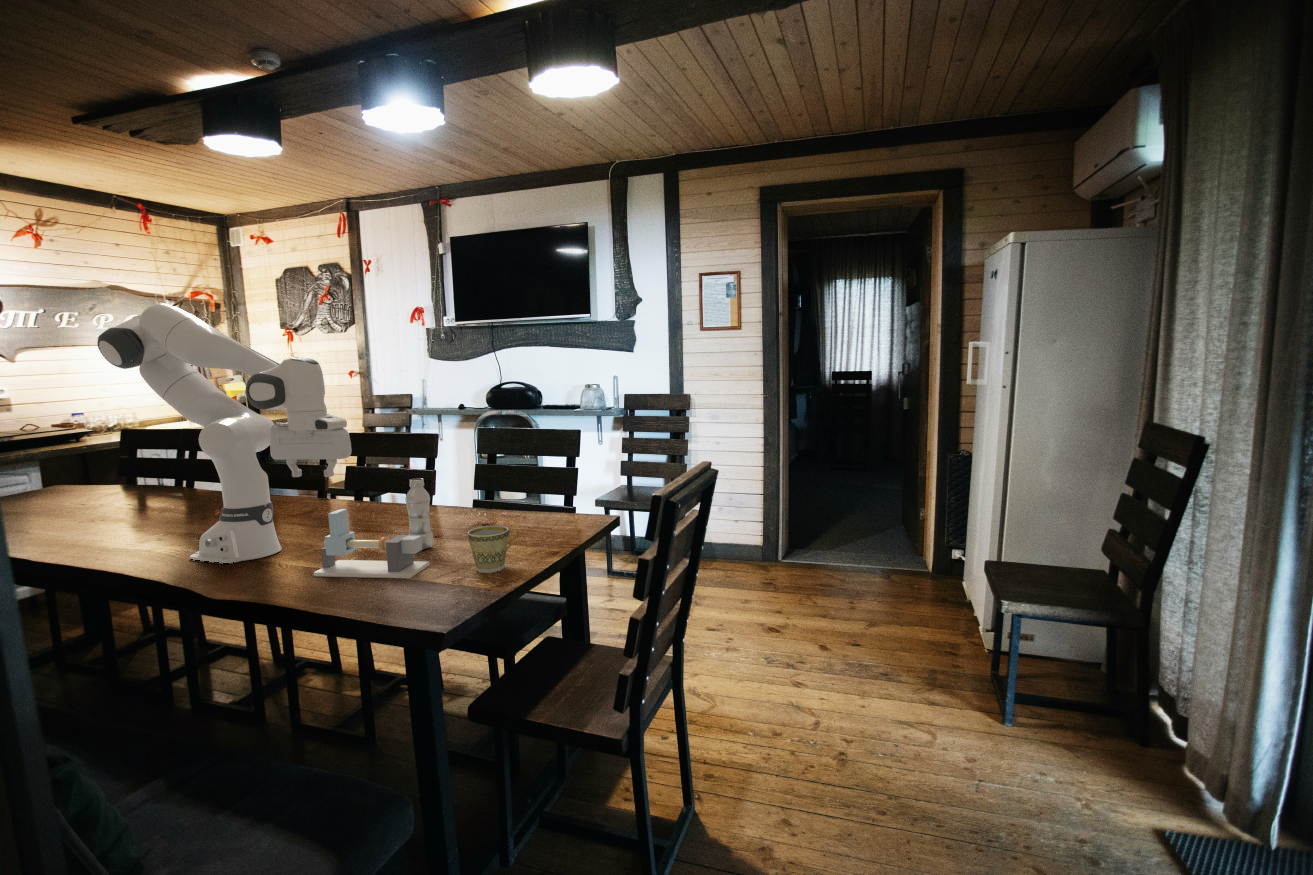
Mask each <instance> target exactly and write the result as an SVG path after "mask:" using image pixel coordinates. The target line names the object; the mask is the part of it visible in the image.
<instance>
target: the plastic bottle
mask: <svg viewBox="0 0 1313 875" xmlns="http://www.w3.org/2000/svg"><path fill="white" fill-rule="evenodd" d="M424 486H425V482H424V478H420V477H419V478H411V479H409V487H410V489H409V490H408V491H407V494H406V495H405V506H406V508H407V514H408V523H409V525H408V526H409V533H408V535H412V536H422V550H423V551H424V550H426V549H430V548H431V547H432V546H433V544H434V535H433V532H432V527H431V521H430V520H431V519H430V505H431V504H430V503H431V496H430V493H429V492H428V491H427V490H426V489H425V487H424ZM422 550H421V551H422Z"/></svg>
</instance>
